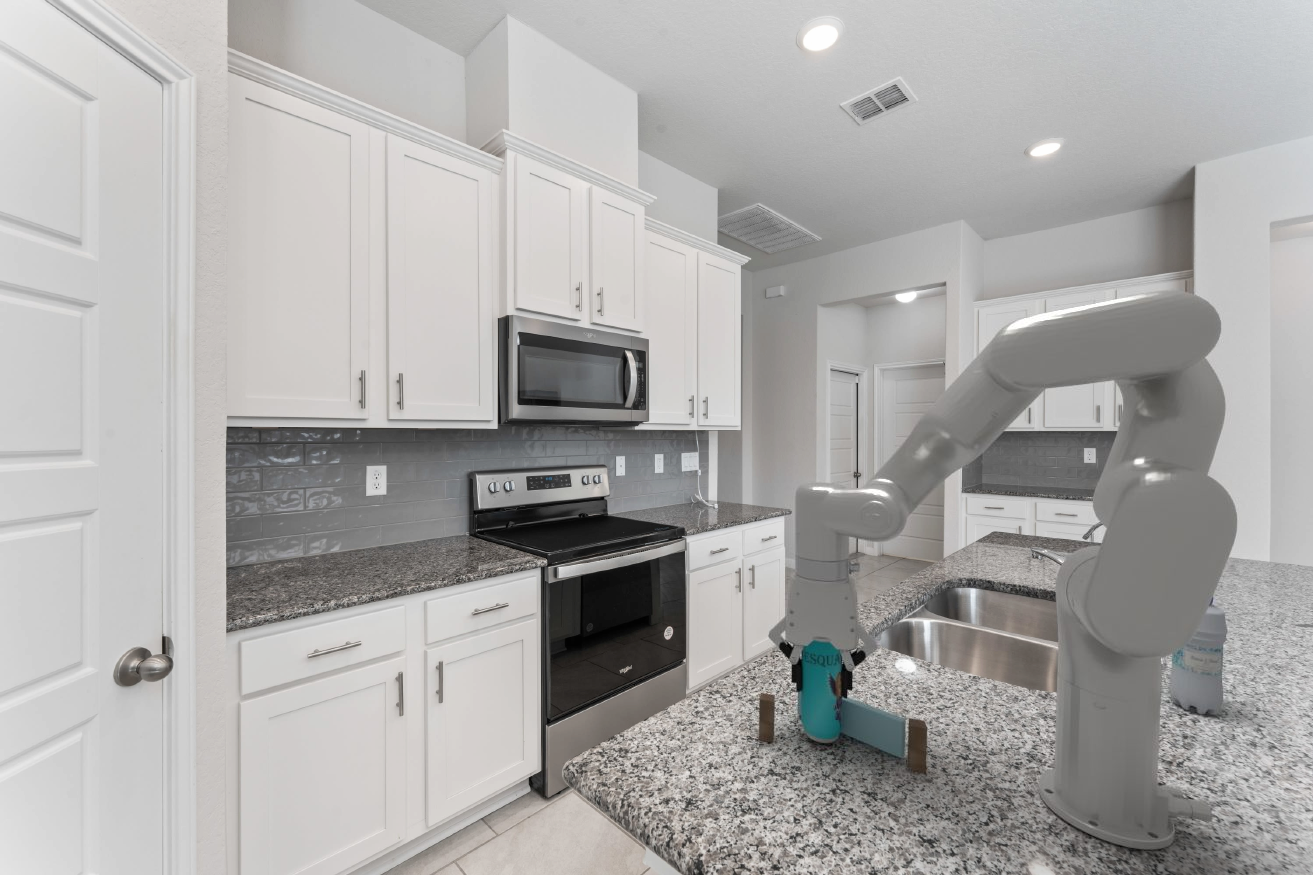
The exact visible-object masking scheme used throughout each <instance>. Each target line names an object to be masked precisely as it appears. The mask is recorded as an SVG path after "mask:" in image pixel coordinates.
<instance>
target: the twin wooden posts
mask: <svg viewBox="0 0 1313 875" xmlns="http://www.w3.org/2000/svg"><path fill="white" fill-rule="evenodd" d="M775 697H776V695H775V694H771V693H766V692H765V693H764V692H761V693H760V695H759V698H758V699H759V700H758V701H759V703H758V705H759V706H758V741H762V742H767V743H768V742H769V743H773V742H774V738H775V715H776V714H775V708H776V707H775V704H776V698H775ZM907 731H908V734H907V735H908V736H907V738H908V740H907V765H908V769H909V771H913V772H918V773H922V774H927V758H928V756H927V754H928V753H927V752H928V749H927V748H928V747H927V746H928V726H927V724H926V720H924V719H923V720H922V719H917V718H909V717H908V730H907Z"/></svg>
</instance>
